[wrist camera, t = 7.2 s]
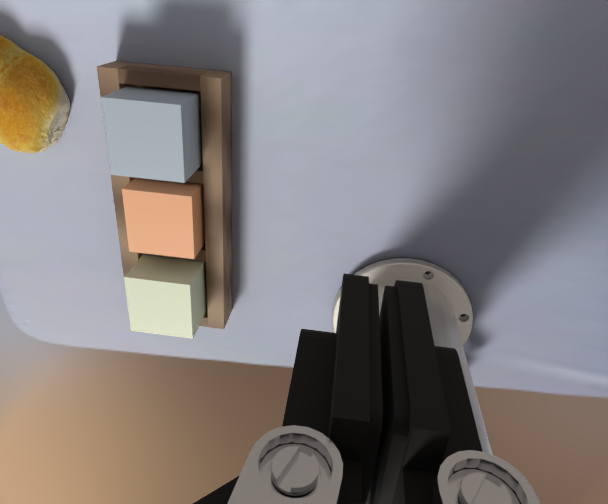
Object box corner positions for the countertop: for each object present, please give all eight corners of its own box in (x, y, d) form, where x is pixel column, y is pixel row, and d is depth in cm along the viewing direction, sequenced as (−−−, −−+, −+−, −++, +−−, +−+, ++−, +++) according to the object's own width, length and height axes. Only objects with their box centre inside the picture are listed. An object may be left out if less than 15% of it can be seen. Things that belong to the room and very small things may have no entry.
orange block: (208, 236, 42) (194, 259, 39) (148, 229, 43) (129, 251, 39) (207, 178, 40) (191, 196, 36) (142, 171, 40) (121, 189, 37)
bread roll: (-25, 13, 37) (-66, 16, 33) (84, 80, 38) (56, 89, 35) (-46, 106, 41) (-85, 117, 37) (54, 164, 42) (26, 180, 39)
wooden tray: (231, 310, 47) (224, 328, 45) (142, 298, 48) (129, 316, 45) (231, 71, 37) (220, 78, 34) (115, 61, 37) (96, 66, 34)
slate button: (201, 165, 38) (184, 182, 34) (134, 157, 38) (110, 174, 35) (199, 93, 35) (180, 105, 32) (126, 86, 36) (100, 97, 32)
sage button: (206, 311, 45) (192, 338, 41) (149, 304, 45) (130, 330, 41) (204, 260, 42) (189, 285, 38) (144, 253, 42) (124, 277, 39)
